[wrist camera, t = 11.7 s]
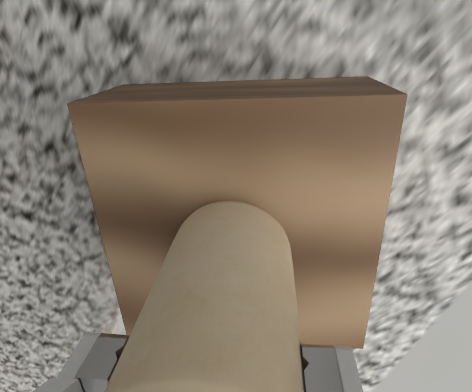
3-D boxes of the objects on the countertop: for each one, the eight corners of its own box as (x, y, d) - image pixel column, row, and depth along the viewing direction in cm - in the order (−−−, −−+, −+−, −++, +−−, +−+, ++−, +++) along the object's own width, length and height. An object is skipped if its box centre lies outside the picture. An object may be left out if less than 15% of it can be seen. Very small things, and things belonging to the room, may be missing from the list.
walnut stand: (123, 84, 20) (67, 103, 14) (367, 76, 18) (407, 94, 13) (157, 273, 26) (127, 336, 20) (343, 279, 24) (362, 348, 19)
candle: (295, 201, 14) (339, 475, 6) (286, 297, 17) (307, 596, 8) (171, 196, 15) (24, 443, 6) (180, 291, 17) (85, 567, 8)
